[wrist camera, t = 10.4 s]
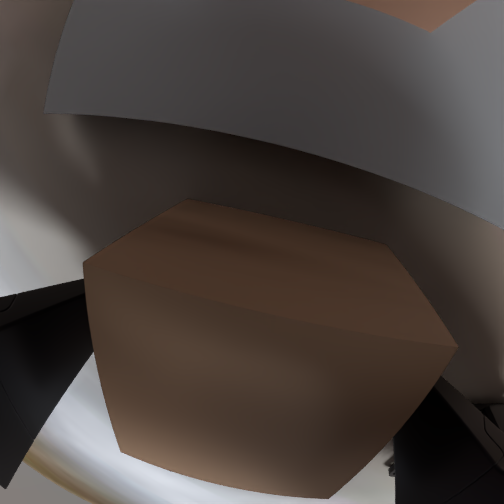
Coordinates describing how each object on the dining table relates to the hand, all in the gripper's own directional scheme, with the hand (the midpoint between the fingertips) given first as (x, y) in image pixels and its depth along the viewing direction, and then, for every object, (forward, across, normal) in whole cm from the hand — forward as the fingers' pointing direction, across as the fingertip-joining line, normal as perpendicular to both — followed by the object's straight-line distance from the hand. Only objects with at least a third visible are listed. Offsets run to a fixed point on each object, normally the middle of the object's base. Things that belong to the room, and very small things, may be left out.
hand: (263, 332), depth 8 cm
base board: (+1, +1, -12) cm, 12 cm away
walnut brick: (+1, 0, 0) cm, 1 cm away
